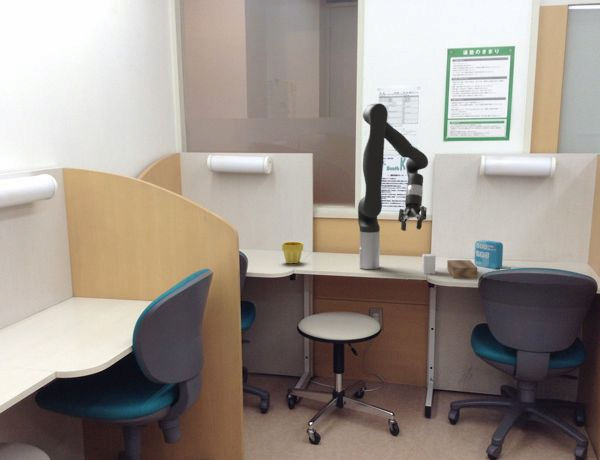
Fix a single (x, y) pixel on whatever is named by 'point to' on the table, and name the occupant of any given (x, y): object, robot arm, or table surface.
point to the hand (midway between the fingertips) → (410, 229)
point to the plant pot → (292, 251)
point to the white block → (428, 263)
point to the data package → (488, 254)
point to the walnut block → (461, 269)
